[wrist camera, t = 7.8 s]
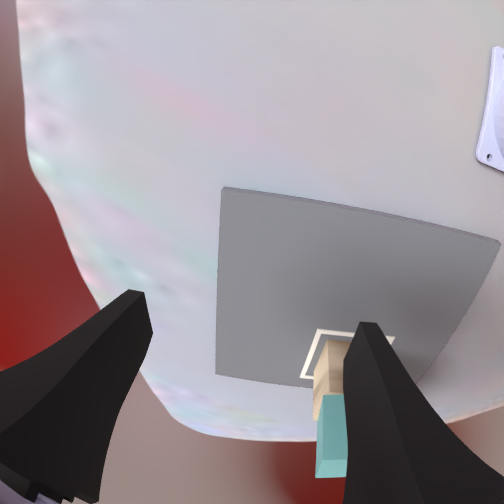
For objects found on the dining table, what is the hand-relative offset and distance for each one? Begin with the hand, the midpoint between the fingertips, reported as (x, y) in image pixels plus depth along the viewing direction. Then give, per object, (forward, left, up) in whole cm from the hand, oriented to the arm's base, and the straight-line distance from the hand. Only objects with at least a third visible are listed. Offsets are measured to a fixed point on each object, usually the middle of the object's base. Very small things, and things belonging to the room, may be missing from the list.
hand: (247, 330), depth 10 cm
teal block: (-8, +12, -4) cm, 15 cm away
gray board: (-7, +8, -10) cm, 14 cm away
